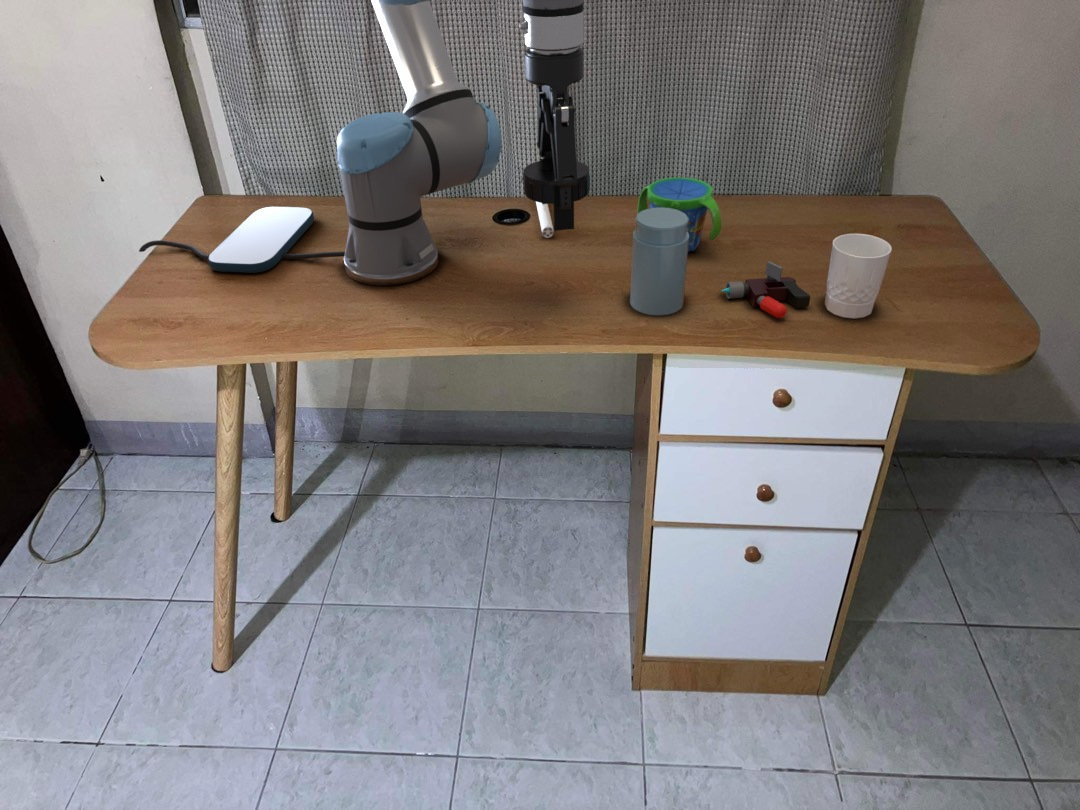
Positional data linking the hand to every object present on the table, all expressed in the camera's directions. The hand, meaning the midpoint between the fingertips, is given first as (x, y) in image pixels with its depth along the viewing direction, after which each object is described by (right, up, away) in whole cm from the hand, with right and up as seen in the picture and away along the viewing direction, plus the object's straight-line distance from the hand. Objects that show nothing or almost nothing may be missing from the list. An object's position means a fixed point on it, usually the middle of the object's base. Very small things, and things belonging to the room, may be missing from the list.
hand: (557, 215), depth 119 cm
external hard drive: (-51, +1, +27) cm, 58 cm away
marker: (-2, +7, +33) cm, 34 cm away
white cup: (+43, -13, +4) cm, 45 cm away
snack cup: (+21, 0, +22) cm, 30 cm away
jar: (+15, -12, +7) cm, 20 cm away
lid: (0, +5, -4) cm, 6 cm away
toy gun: (+31, -13, +5) cm, 34 cm away
